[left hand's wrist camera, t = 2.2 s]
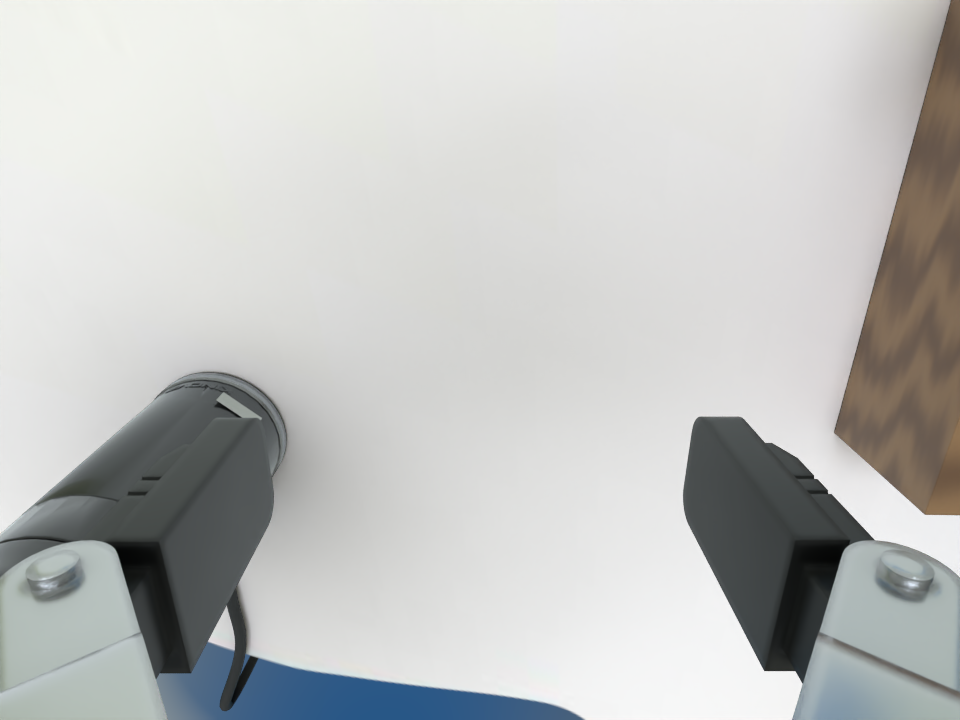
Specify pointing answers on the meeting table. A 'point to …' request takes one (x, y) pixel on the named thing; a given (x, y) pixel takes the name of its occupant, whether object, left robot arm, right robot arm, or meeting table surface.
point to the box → (917, 314)
